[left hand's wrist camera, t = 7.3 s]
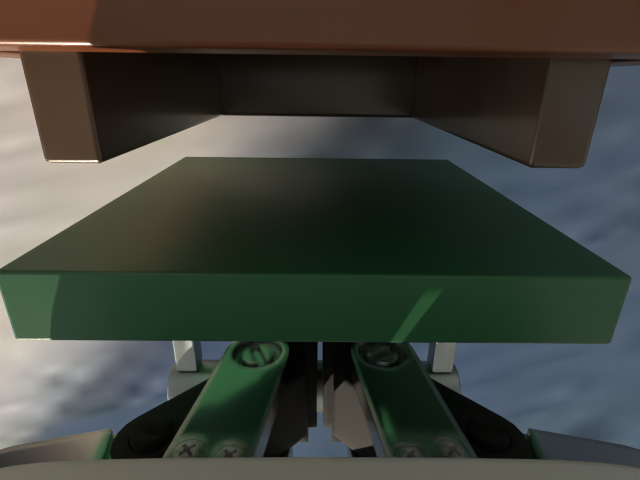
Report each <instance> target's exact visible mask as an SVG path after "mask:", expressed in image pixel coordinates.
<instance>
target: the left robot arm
mask: <svg viewBox="0 0 640 480" xmlns="http://www.w3.org/2000/svg"><path fill="white" fill-rule="evenodd" d="M317 345H318V342H281V341H234V342H232V343H231V344H230V345H229V347H228V348H227V349H226V351H225V353H224V354H223V356H222V358H221V359H220V361H219V363H218V364H217V366H216V368H215V369H214V371H213V373H212V375H211V376H210V378H208V379H207V380H205V381H203V382H201V383H199V384H197V385H196V386H194V387H192V388H190V389H188V390H186V391H185V392H183V393H181V394H179V395H177V396H175V397H174V398H172V399H170V400H168V401H166V402H164V403H163V404H161V405H159V406H157V407H155V408H153V409H152V410H150V411H148V412H146V413H144V414H142V415H141V416H139V417H137V418H135V419H134V420H132V421H131V422H129V423H128V424H126V425H125V426H124V427H123V428H122V429H121V430H120V431H119V432H118V433H117V434H113V432H112V428H110V429H105V430H99V431H94V432H88V433H82V434H77V435H71V436H65V437H60V438H54V439H48V440H43V441H37V442H31V443H26V444H20V445H15V446H11V447H8V448H4V449H1V450H0V480H640V450H639V449H636V448H632V447H629V446H625V445H620V444H614V443H609V442H603V441H597V440H592V439H586V438H580V437H575V436H569V435H563V434H558V433H552V432H546V431H541V430H535V429H530V428H528V432H527V434H523V433H522V432H521V431H520V430H519V429H518V428H517V427H516V426H515V425H514V424H512V423H511V422H509V421H508V420H506V419H505V418H503V417H501V416H499V415H498V414H496V413H494V412H492V411H490V410H488V409H487V408H485V407H483V406H481V405H479V404H477V403H476V402H474V401H472V400H470V399H468V398H466V397H465V396H463V395H461V394H459V393H457V392H455V391H454V390H452V389H450V388H448V387H446V386H444V385H443V384H441V383H439V382H437V381H435V380H433V379H432V378H430V376H429V375H428V373H427V371H426V369H425V368H424V366H423V364H422V363H421V361H420V359H419V358H418V356H417V354H416V353H415V351H414V349H413V348H412V347H411V345H410V344H409V343H408V342H323V427H332V442H343V443H344V444H346V445H347V446H348V447H347V455H348V457H292V455H293V447H292V446H293V445H294V444H296V443H297V442H308V427H317Z"/></svg>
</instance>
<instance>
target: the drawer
mask: <svg viewBox="0 0 640 480" xmlns="http://www.w3.org/2000/svg"><path fill="white" fill-rule="evenodd" d="M19 52H20V57H21V61H22V65H23V69H24V73H25V77H26V82H27V86H28V90H29V94H30V98H31V102H32V107H33V111H34V115H35V119H36V123H37V127H38V131H39V136H40V140H41V144H42V148H43V152H44V156H45V159H46V161H48V162H51V163H101V162H104V161H106V160H109V159H112V158H114V157H117V156H119V155H122V154H124V153H127V152H129V151H132V150H134V149H137V148H139V147H142V146H145V145H147V144H150V143H152V142H155V141H157V140H160V139H162V138H165V137H167V136H170V135H172V134H175V133H178V132H180V131H183V130H185V129H188V128H190V127H193V126H195V125H198V124H200V123H203V122H205V121H208V120H210V119H213V118H216V117H218V116H221V115H236V116H319V117H402V118H415V119H418V120H420V121H422V122H425V123H427V124H429V125H432V126H434V127H437V128H439V129H441V130H444V131H446V132H448V133H451V134H453V135H455V136H458V137H460V138H462V139H465V140H467V141H470V142H472V143H474V144H477V145H479V146H481V147H484V148H486V149H488V150H491V151H493V152H496V153H498V154H500V155H503V156H505V157H507V158H510V159H512V160H514V161H517V162H519V163H522V164H524V165H526V166H529V167H531V168H580V167H583V166H584V164H585V162H586V158H587V154H588V150H589V146H590V142H591V138H592V134H593V130H594V126H595V123H596V119H597V115H598V111H599V107H600V103H601V99H602V95H603V91H604V87H605V84H606V80H607V76H608V72H609V68H610V64H611V60H612V59H582V58H508V57H433V56H359V55H285V54H211V53H137V52H63V51H19ZM630 282H631V277H630V276H629V275H627V274H626V273H624V272H623V271H621V270H619V269H618V268H616V267H615V266H613V265H612V264H610V263H608V262H607V261H605V260H604V259H602V258H601V257H599V256H598V255H596V254H594V253H593V252H591V251H590V250H588V249H587V248H585V247H583V246H582V245H580V244H579V243H577V242H576V241H574V240H572V239H571V238H569V237H568V236H566V235H565V234H563V233H561V232H560V231H558V230H557V229H555V228H554V227H552V226H550V225H549V224H547V223H546V222H544V221H543V220H541V219H539V218H538V217H536V216H535V215H533V214H532V213H530V212H528V211H527V210H525V209H524V208H522V207H521V206H519V205H517V204H516V203H514V202H513V201H511V200H510V199H508V198H507V197H505V196H503V195H502V194H500V193H499V192H497V191H496V190H494V189H492V188H491V187H489V186H488V185H486V184H485V183H483V182H481V181H480V180H478V179H477V178H475V177H474V176H472V175H470V174H469V173H467V172H466V171H464V170H463V169H461V168H459V167H458V166H456V165H455V164H453V163H452V162H450V161H448V160H417V159H328V158H238V157H185V158H183V159H181V160H180V161H178V162H176V163H175V164H173V165H171V166H170V167H168V168H166V169H165V170H163V171H161V172H160V173H158V174H156V175H155V176H153V177H151V178H150V179H148V180H146V181H145V182H143V183H142V184H140V185H138V186H137V187H135V188H133V189H132V190H130V191H128V192H127V193H125V194H123V195H122V196H120V197H118V198H117V199H115V200H113V201H112V202H110V203H108V204H107V205H105V206H103V207H102V208H100V209H98V210H97V211H95V212H93V213H92V214H90V215H88V216H87V217H85V218H83V219H82V220H80V221H79V222H77V223H75V224H74V225H72V226H70V227H69V228H67V229H65V230H64V231H62V232H60V233H59V234H57V235H55V236H54V237H52V238H50V239H49V240H47V241H45V242H44V243H42V244H40V245H39V246H37V247H35V248H34V249H32V250H30V251H29V252H27V253H25V254H24V255H22V256H20V257H19V258H17V259H15V260H14V261H12V262H11V263H9V264H7V265H6V266H4V267H2V268H1V269H0V291H1V294H2V297H3V300H4V303H5V306H6V309H7V313H8V316H9V319H10V322H11V325H12V328H13V331H14V334H15V338H16V339H18V340H136V341H172V342H173V349H174V356H175V363H174V365H173V367H172V369H171V372H170V376H169V380H168V388H167V400H170V399H172V398H174V397H175V396H177V395H179V394H181V393H183V392H185V391H186V390H188V389H190V388H192V387H194V386H196V385H197V384H199V383H201V382H203V381H205V380H207V379H208V378H210V376H211V375H212V373H213V371H214V369H215V368H216V366H217V364H218V363H219V361H220V360H202V351H201V343H200V341H281V342H425V343H429V351H428V358H427V360H428V361H421V363H422V364H423V366H424V368H425V369H426V371H427V373H428V375H429V376H430V378H432V379H433V380H435V381H437V382H439V383H441V384H443V385H444V386H446V387H448V388H450V389H452V390H454V391H455V392H457V393H459V394H461V385H460V379H459V375H458V372H457V369H456V367H455V365H454V364H453V363H454V357H455V351H456V345H457V343H570V344H608V343H610V342H611V339H612V336H613V333H614V330H615V327H616V324H617V321H618V318H619V315H620V312H621V309H622V306H623V303H624V300H625V297H626V294H627V291H628V288H629V285H630ZM317 412H323V360H317Z"/></svg>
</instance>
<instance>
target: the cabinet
mask: <svg viewBox="0 0 640 480" xmlns="http://www.w3.org/2000/svg"><path fill="white" fill-rule="evenodd" d="M19 51H63V52H137V53H211V54H285V55H359V56H433V57H508V58H582V59H612V60H611V64H610V66H633V65H640V0H0V57H7V58H21V57H20V52H19Z"/></svg>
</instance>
